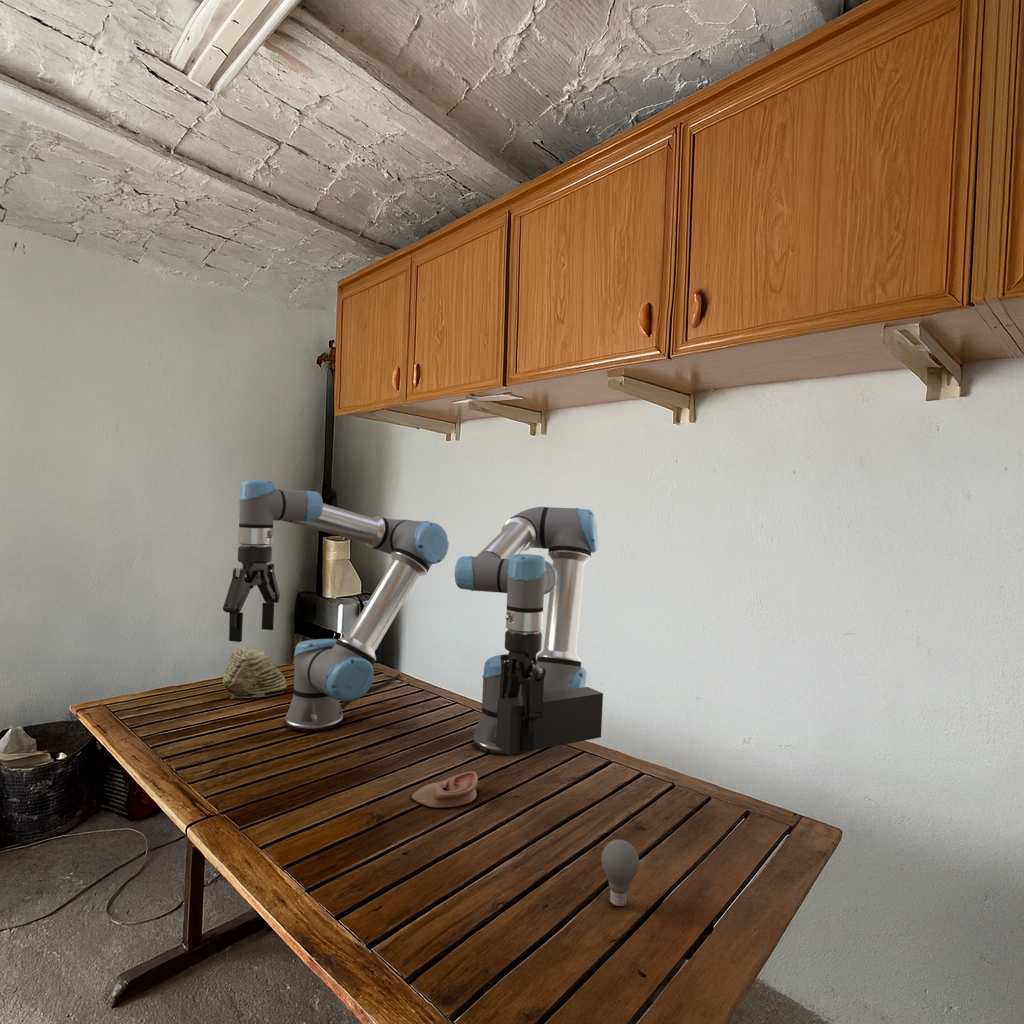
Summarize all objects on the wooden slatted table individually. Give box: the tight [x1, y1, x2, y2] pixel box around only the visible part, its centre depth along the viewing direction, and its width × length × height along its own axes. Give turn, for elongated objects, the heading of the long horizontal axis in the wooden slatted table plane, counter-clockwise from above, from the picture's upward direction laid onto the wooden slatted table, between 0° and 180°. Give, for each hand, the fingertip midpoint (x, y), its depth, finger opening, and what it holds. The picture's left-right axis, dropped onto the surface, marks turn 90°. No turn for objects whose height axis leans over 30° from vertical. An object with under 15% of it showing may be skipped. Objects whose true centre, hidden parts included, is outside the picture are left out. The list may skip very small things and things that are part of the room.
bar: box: [496, 686, 604, 756], centre depth 133 cm, size 23×5×10 cm, turn 121°
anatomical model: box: [411, 771, 479, 809], centre depth 136 cm, size 13×4×12 cm
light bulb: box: [600, 839, 640, 907], centre depth 102 cm, size 6×6×10 cm
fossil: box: [222, 646, 288, 699], centre depth 198 cm, size 9×18×15 cm, turn 132°
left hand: (252, 635), depth 150 cm, fingers open, 13 cm apart
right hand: (518, 744), depth 129 cm, fingers closed on bar, 5 cm apart
